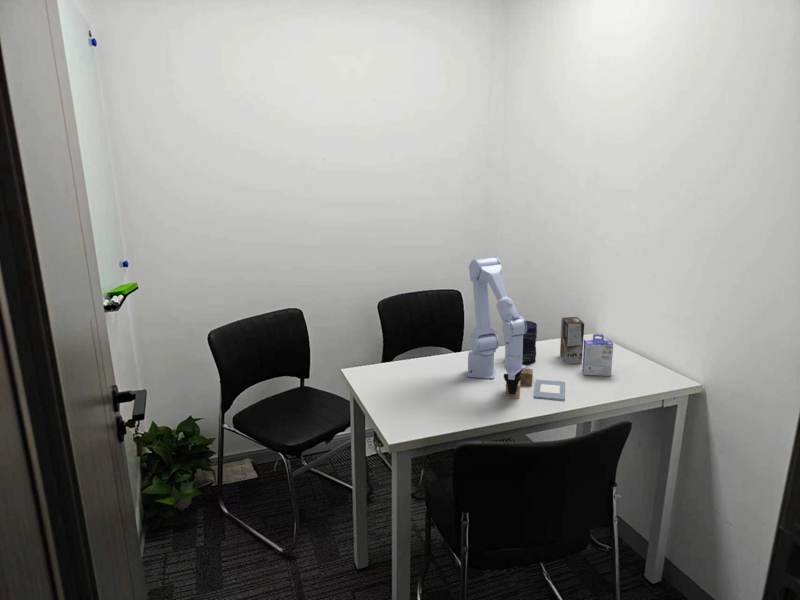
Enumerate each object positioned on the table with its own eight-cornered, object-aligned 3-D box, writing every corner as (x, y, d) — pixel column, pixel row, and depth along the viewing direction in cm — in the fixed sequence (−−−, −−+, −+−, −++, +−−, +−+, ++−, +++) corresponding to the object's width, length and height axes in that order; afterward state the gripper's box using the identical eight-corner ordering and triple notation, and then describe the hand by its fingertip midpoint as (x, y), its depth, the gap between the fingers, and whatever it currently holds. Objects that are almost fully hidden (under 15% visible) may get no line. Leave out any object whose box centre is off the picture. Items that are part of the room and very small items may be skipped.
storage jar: (540, 363, 208) (541, 326, 204) (517, 366, 206) (517, 329, 202) (528, 354, 217) (529, 319, 213) (506, 357, 215) (506, 321, 211)
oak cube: (505, 397, 181) (505, 384, 180) (506, 391, 185) (507, 379, 184) (519, 398, 180) (519, 385, 178) (520, 392, 184) (520, 380, 182)
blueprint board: (533, 397, 179) (533, 396, 179) (536, 381, 192) (536, 379, 192) (565, 400, 176) (565, 398, 176) (565, 383, 189) (565, 381, 189)
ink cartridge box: (609, 370, 199) (612, 333, 195) (612, 376, 194) (614, 338, 190) (581, 369, 201) (583, 332, 197) (583, 375, 196) (585, 337, 192)
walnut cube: (518, 384, 190) (519, 373, 189) (519, 379, 194) (520, 368, 193) (531, 385, 189) (532, 374, 187) (532, 380, 193) (532, 369, 192)
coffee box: (582, 363, 206) (585, 323, 202) (565, 363, 206) (567, 324, 202) (575, 354, 215) (577, 316, 211) (559, 355, 215) (561, 316, 211)
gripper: (524, 362, 170) (523, 401, 174) (527, 346, 184) (526, 383, 187) (502, 360, 172) (501, 399, 176) (506, 345, 186) (506, 381, 189)
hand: (512, 390), depth 182 cm, fingers closed on oak cube, 4 cm apart
